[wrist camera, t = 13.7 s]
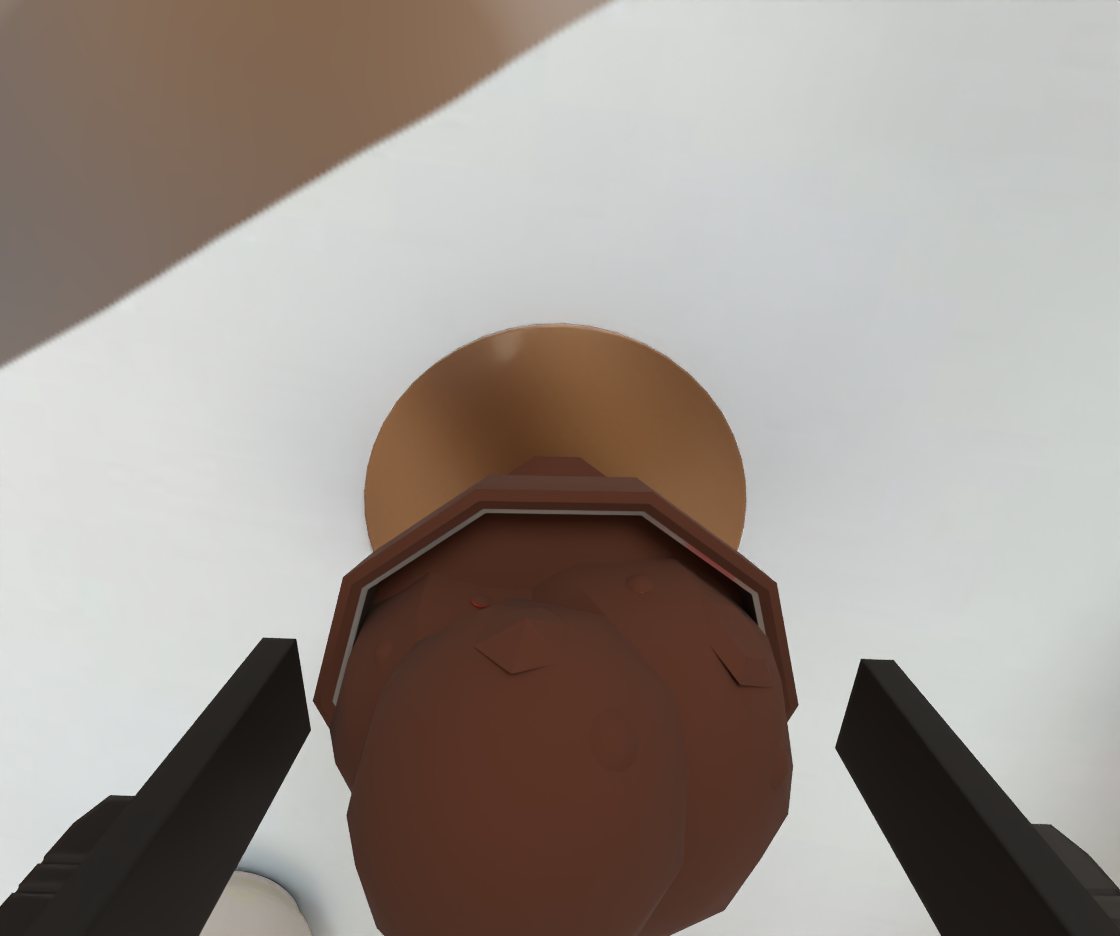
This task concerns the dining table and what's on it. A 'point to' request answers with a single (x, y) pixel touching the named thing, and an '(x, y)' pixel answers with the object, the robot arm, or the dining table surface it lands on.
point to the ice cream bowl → (557, 712)
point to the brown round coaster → (554, 426)
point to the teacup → (255, 910)
